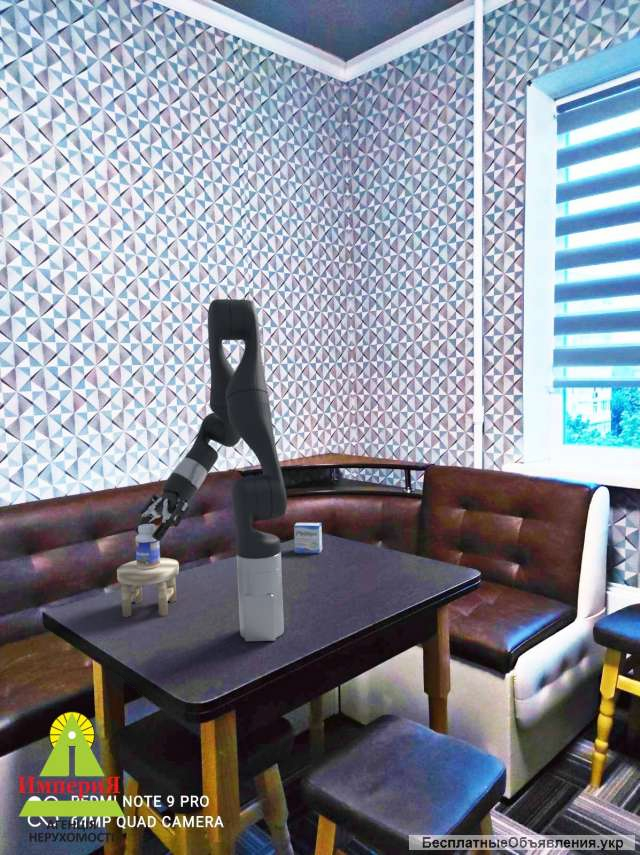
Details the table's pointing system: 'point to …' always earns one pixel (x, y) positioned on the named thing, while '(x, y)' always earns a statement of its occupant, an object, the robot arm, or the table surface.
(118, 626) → the table surface
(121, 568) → the small wooden stool
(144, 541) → the pill bottle
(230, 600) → the table surface
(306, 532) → the medicine box
